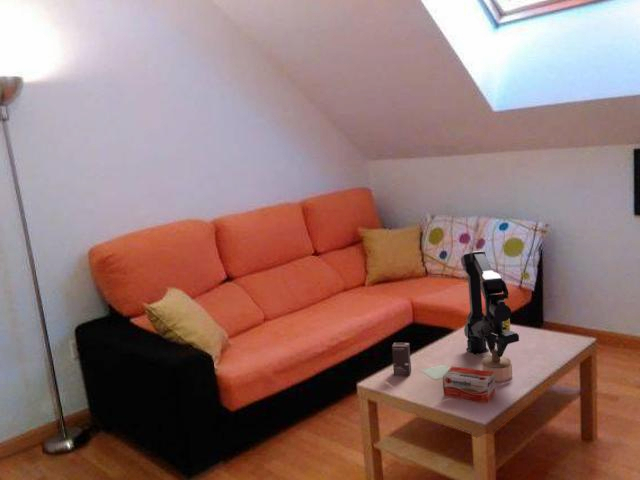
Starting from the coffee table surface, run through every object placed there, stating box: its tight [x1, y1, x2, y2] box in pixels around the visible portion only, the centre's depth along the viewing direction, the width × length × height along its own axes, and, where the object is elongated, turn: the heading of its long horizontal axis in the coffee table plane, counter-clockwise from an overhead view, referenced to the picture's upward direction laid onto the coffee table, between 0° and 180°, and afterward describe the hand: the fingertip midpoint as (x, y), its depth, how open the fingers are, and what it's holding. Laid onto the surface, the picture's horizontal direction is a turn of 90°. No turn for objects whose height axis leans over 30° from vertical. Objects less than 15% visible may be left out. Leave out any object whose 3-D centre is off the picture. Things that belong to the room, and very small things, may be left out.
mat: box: [420, 364, 451, 380], centre depth 217 cm, size 10×10×1 cm
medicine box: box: [442, 366, 496, 405], centre depth 196 cm, size 15×8×8 cm, turn 57°
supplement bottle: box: [502, 317, 511, 332], centre depth 248 cm, size 7×7×13 cm
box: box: [391, 341, 412, 377], centre depth 217 cm, size 6×4×12 cm
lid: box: [481, 348, 512, 368], centre depth 208 cm, size 10×10×5 cm
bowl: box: [481, 362, 513, 382], centre depth 209 cm, size 10×10×5 cm
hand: (496, 354), depth 208 cm, fingers open, 4 cm apart
